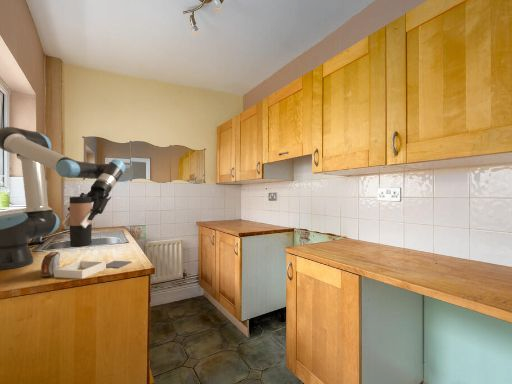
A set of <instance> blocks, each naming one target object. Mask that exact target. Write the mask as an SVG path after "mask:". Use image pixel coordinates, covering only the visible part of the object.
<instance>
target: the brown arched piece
mask: <svg viewBox="0 0 512 384" xmlns="http://www.w3.org/2000/svg"><path fill="white" fill-rule="evenodd" d="M60 258H61V253H60V252H59V251H50V252H49V253H48V254H46V255H44V257H43V259H42V262H41V267H40V275H41V277H42V278H45V277H46V278H49V277H51V276H54V269H57V268H60Z"/></svg>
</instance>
